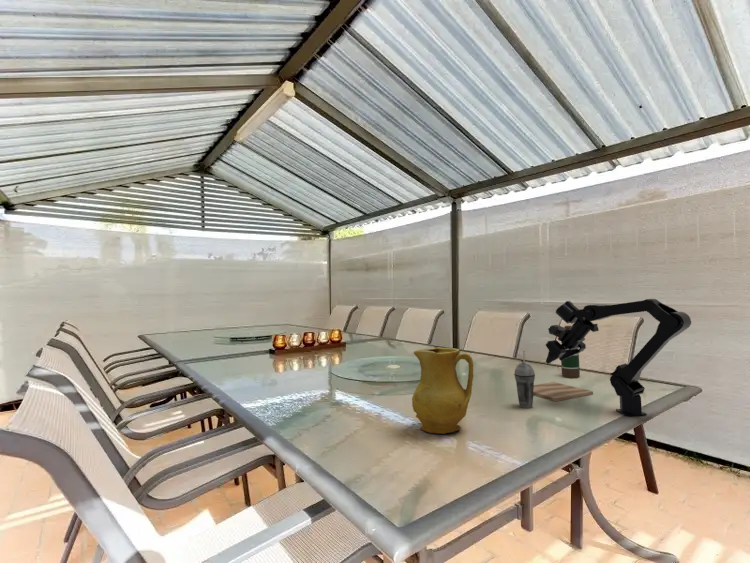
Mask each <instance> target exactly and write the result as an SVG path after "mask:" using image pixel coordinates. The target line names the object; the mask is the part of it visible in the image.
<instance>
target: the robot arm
mask: <svg viewBox="0 0 750 563" xmlns="http://www.w3.org/2000/svg"><path fill="white" fill-rule="evenodd" d="M642 312H647V313H648V314H649V315H650V316H652V318H654V319H655V320H656V321H657V322H659V323H658V325H657V328H656V331H655V333H654V335H653V336H651V338H650V339H649V340H648V341H647V342H646V343H645V345H644V346H643V347H642V348H641V349H640V350H639V352H637V353H636V355H635V356H634V357H633V358H632V359H631V361H630V362H629V363H628V364H627V363H622V364H619V365H617V366H616V368H615V369H614V370H613V372H611V373H610V377H609V381H610V385H611V387H612V388H614V392H615V394H616V395H617V396H618V397H619V408H616V409H615V411H616V412H618V413H621V414H623V415H624V416H628V417H634V416H636V417H637V416H647V413H646V412H645V411H642V410H643V408H642V396H641V395H642V394H644V391H645V387H644V386H643V384H641V383H640V382H639V379H640V378H641V374H642V372H643V370H644V369H645V368H646V367H647V366H648V364H649V363H651V361H652V360H653V359H655V357H656V356H657V355H658V354H659V353H660V352H661V350H662V349H663V348H664V347H665V346H666V345H667V344H668V343H669V342H670V341H671V340H672V339H674V338H675V337H677V336H678V335H680V334H682V333H683V332H684V331H686V330H688V329H689V328H690V327H691V325H692V320H691V317H690V315H688V314H687V313H686V312H683V311H678V310H677V309H675V308H673V307H671V306H668V305H667V304H664V303H663V302H661V301H660V300H658V299H656V298H646V299H644V300H637V301H629V302H623V303H617V304H605V303H604V304H600V303H597V304H587V305H585V306H584V307H583V308H582V309H580V308H578V307H576V305H574V304H573V302H572V301H571V300H566V301H565V302H564V303H563V304H561V305H560V306H558V307H557V308H556V309H555V314H556V315H557V316H558V317H559V318H561V319H562V320H563V321H564V322H565V323H566V324H572V325H570V326H571V328H570V329H566V328H564V327H565V326H561V325H558V324H553V325H551V326H549V328H547V329H548V333H549V334H550V335H552V336H555V337H557V340H556V339H553V340H548V341H547V342H546V343H545V347H546V348H547V350H548V353H547V356H546V359H545V363H546V364H547V365H548V364H551V363H552V362H554V361H556V360H558V359H559V360H560V362H561V361H562V360H564V359H566V358H568V357H571V356H573V355H575V354H577V353H579V354H580V353H581V352H584V350H585V349H587V345H586V343H584V342H585V340H586V338H585V337H586V336H587V335H588V334H589V333H590V332H592V333H596V332H599V327H598V323H594V321H601V320H605V319H608V318H610V317H613V316H618V315H625V314H627V315H628V314H634V313H642Z"/></svg>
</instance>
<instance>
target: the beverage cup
mask: <svg viewBox="0 0 750 563" xmlns="http://www.w3.org/2000/svg"><path fill="white" fill-rule="evenodd" d="M525 352H526V351H525V350H523V352H522V353H523V362H522V363H519V364H518V365H516V367H515V369H514V373H513V376H514V379H515V384H516V391H517V399H518V404H519V407H520V408H522V409H532V408H533V407H534V406H533V404H534V395H533V390H534V385H535V378H536V372H535V370H534V368H533V367H532V365H530V364H528V363H526V354H525Z"/></svg>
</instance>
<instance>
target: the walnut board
mask: <svg viewBox="0 0 750 563" xmlns="http://www.w3.org/2000/svg"><path fill="white" fill-rule="evenodd" d="M592 395H594V391H593V390H589V389H584V388H580V387H578V386H577V387H576V386H572V385H567V384H564V383H560V382H555V381H550V382H544V383H538V384H534V390H533V396H535V397H537V398H538V397H539V398H541V399H545V400H548V399H549V401H551V402H560V401H564V400H565V399H566V400H570V398H571V399H576V397H577V398H581V397H586V396H592ZM566 400H565V401H566Z"/></svg>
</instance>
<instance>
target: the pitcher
mask: <svg viewBox="0 0 750 563" xmlns="http://www.w3.org/2000/svg"><path fill="white" fill-rule="evenodd" d="M413 354H414V356H415V357H416V358H417V359H418V362H419V365H420V378H419V379H420V380H419V383H418V385H417V386H416V388H415V390H414V392H413V394H412V397H411V398H412V399H411V406H412V409H413V412H414V413H415V414H416V415H415V417H416V418H417V419H418V420H419V422H420V423H421V425H422V426H420V428H419V429H420V430H421V431H423V432H427V433H430V434H441V435H443V434H450V433H454V432H457V431H459V430H461V429H462V427H461V425H460V424H459V423H460V421H462V420H463V419H464V418H465V417H466V415H467V411H468V406H469V402H470V399H471V396H472V389H473V388H472V387H473V381H474V361H473V357H472V356H471V354H468V353H467V352H460V349H458V348H451V347H450V348H449V347H448V348H447V347H440V346H439V347H434V348H426V349H424V348H423V349H417V350H414V351H413ZM460 360H464V361H466V362H467V363H468V376H467V382H466V383H467V385H466V388H465V389H464V387H463V386H462V384H461V383H460V380H459V379H458V375H457V369H456V368H457V364H458V362H460Z"/></svg>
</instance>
